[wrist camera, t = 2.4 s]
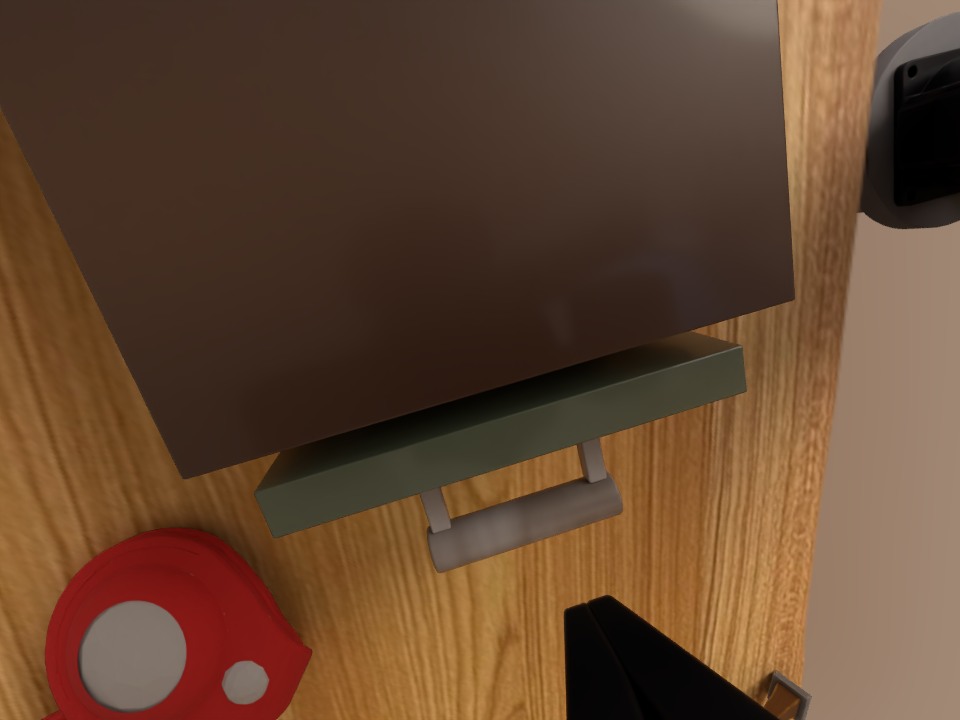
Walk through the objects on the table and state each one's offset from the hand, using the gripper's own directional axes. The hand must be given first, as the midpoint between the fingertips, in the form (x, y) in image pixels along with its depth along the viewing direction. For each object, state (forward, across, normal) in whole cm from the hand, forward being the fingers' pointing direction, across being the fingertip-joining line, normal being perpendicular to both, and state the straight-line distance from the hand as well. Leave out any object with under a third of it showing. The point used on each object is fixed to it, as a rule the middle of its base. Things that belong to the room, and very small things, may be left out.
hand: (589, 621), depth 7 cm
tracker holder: (+12, +16, +6) cm, 21 cm away
